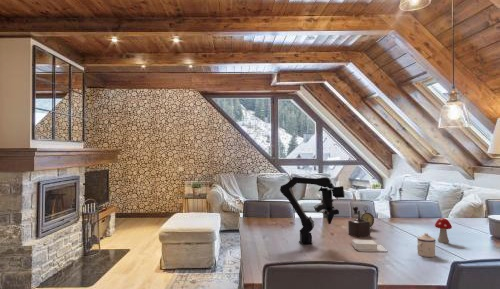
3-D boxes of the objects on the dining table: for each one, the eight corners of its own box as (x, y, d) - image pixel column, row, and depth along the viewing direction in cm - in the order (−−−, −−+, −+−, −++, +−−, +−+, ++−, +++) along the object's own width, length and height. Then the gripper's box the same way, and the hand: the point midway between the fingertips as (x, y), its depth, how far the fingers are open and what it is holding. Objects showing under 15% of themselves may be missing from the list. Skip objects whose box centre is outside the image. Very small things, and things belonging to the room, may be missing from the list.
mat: (358, 251, 205) (358, 250, 205) (353, 244, 219) (353, 243, 219) (387, 252, 203) (387, 251, 203) (381, 245, 217) (381, 244, 217)
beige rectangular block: (355, 243, 207) (377, 244, 206) (352, 239, 217) (372, 240, 216) (355, 249, 207) (377, 249, 206) (352, 244, 217) (372, 245, 216)
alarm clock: (361, 229, 262) (361, 207, 262) (357, 228, 267) (357, 206, 267) (374, 229, 265) (374, 206, 265) (370, 227, 270) (370, 205, 270)
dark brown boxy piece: (371, 236, 243) (371, 209, 243) (358, 237, 238) (358, 209, 238) (355, 231, 257) (355, 205, 257) (343, 232, 252) (343, 206, 253)
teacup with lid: (423, 251, 204) (423, 231, 205) (439, 255, 197) (439, 234, 197) (410, 254, 198) (410, 233, 198) (426, 259, 190) (425, 236, 191)
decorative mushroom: (431, 241, 230) (431, 217, 230) (441, 240, 233) (441, 216, 233) (445, 244, 220) (444, 220, 221) (455, 243, 223) (455, 219, 224)
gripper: (309, 197, 227) (311, 222, 227) (320, 202, 208) (322, 229, 208) (326, 195, 229) (328, 220, 229) (338, 199, 210) (340, 226, 210)
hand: (329, 223), depth 219 cm, fingers closed
